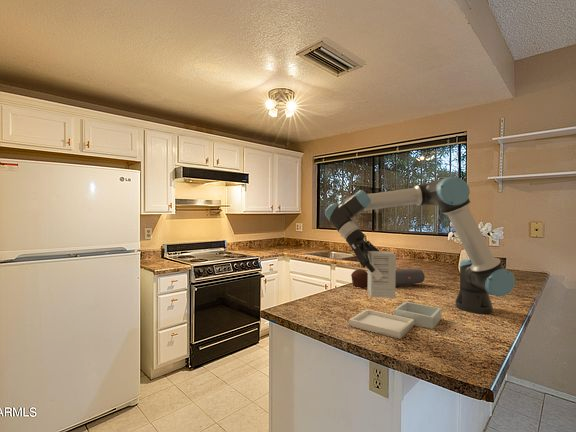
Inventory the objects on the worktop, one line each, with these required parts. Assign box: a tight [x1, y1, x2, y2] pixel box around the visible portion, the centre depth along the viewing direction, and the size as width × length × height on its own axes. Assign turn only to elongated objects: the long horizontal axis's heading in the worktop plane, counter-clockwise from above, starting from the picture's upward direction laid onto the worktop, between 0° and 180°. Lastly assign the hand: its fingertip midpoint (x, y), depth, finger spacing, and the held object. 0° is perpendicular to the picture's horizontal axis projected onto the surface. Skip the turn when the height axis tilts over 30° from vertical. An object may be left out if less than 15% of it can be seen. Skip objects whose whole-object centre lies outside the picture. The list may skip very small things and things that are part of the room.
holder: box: [393, 301, 443, 330], centre depth 129 cm, size 15×15×4 cm
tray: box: [348, 308, 415, 340], centre depth 121 cm, size 20×17×2 cm
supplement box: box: [366, 250, 397, 299], centre depth 121 cm, size 10×9×17 cm
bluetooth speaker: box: [395, 268, 425, 287], centre depth 189 cm, size 23×9×10 cm, turn 105°
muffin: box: [350, 268, 368, 289], centre depth 186 cm, size 12×11×10 cm
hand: (386, 275), depth 119 cm, fingers closed on supplement box, 12 cm apart
